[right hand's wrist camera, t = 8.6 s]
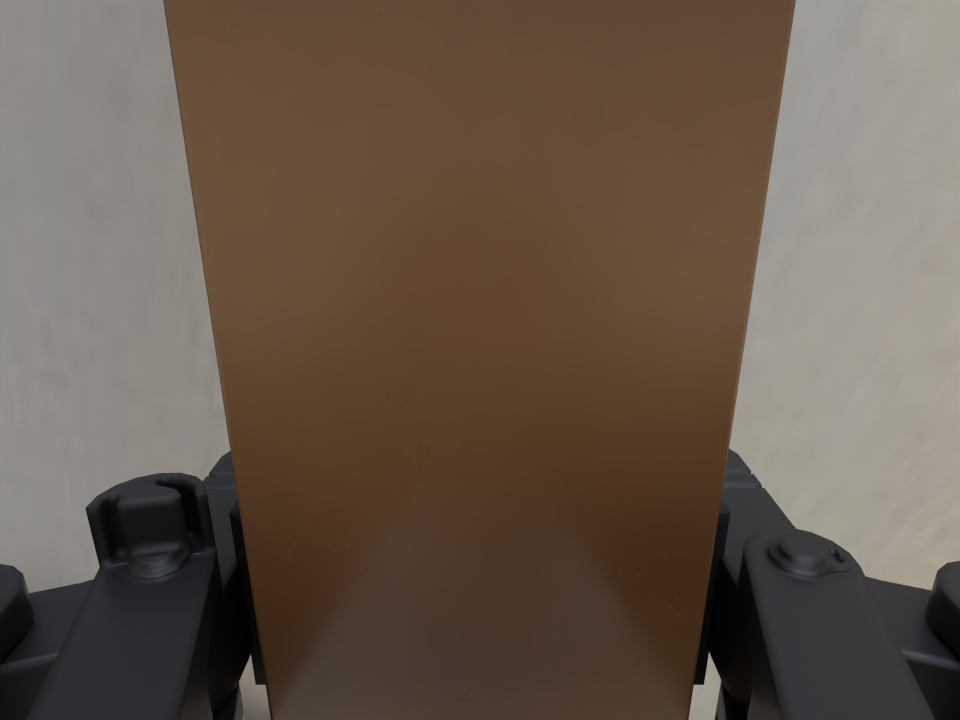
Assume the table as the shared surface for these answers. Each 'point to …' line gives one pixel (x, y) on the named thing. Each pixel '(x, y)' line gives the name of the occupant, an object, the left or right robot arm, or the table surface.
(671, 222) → the bar
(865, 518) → the table surface
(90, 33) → the table surface
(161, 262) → the table surface
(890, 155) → the table surface
